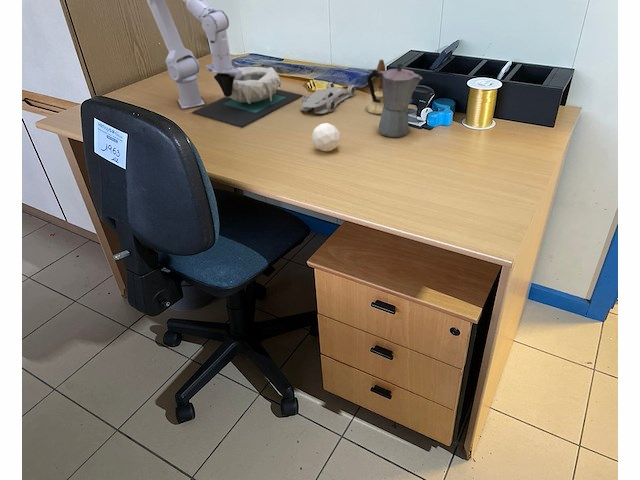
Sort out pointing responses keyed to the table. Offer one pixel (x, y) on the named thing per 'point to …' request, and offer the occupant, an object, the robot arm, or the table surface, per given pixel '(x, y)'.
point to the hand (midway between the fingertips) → (228, 95)
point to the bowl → (255, 84)
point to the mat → (245, 108)
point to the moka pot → (394, 99)
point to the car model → (326, 99)
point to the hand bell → (378, 93)
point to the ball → (325, 137)
